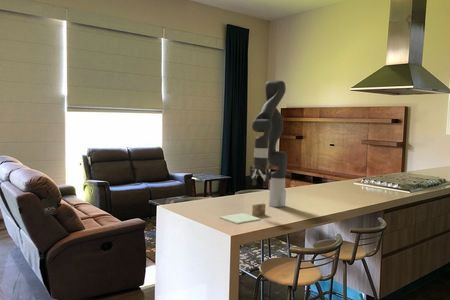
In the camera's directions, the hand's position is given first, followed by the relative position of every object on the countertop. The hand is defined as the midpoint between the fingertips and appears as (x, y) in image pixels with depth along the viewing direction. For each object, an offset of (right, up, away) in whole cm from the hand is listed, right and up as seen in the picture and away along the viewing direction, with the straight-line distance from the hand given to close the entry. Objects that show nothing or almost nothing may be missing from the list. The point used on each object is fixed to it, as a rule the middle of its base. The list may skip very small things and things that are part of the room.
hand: (259, 186), depth 206 cm
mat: (-11, -16, -8) cm, 21 cm away
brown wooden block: (0, -16, +1) cm, 16 cm away
